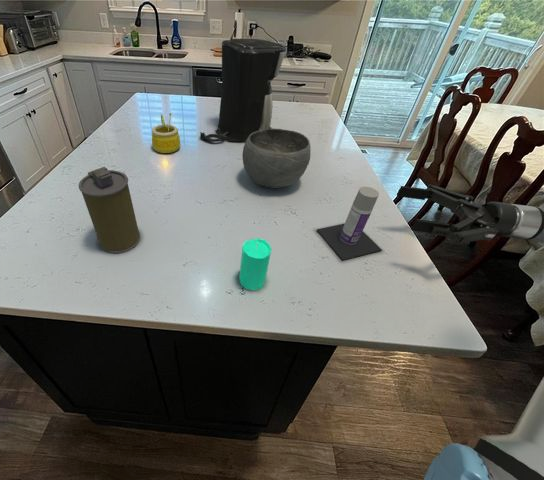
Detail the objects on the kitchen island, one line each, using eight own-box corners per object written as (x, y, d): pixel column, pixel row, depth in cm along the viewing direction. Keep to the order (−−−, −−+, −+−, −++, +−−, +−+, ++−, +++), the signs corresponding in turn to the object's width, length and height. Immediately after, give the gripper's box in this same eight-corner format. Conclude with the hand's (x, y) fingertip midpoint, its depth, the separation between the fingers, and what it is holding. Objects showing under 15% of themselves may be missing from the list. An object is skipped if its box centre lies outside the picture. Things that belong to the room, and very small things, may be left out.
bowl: (313, 180, 102) (325, 138, 91) (281, 207, 89) (291, 162, 79) (263, 160, 111) (268, 120, 101) (228, 182, 99) (230, 139, 89)
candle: (265, 271, 70) (272, 234, 62) (264, 291, 66) (272, 254, 58) (240, 268, 71) (244, 231, 62) (238, 288, 66) (241, 250, 58)
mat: (381, 251, 77) (381, 249, 76) (342, 261, 74) (342, 259, 73) (352, 223, 85) (353, 221, 84) (316, 230, 82) (317, 229, 81)
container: (356, 235, 80) (378, 188, 70) (358, 246, 77) (380, 199, 67) (339, 231, 81) (357, 185, 71) (339, 243, 77) (359, 195, 67)
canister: (148, 240, 77) (134, 172, 63) (111, 259, 71) (87, 189, 58) (126, 220, 82) (110, 154, 69) (91, 237, 77) (65, 168, 63)
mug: (174, 157, 111) (171, 125, 102) (147, 152, 113) (143, 120, 105) (187, 143, 120) (185, 113, 111) (163, 139, 122) (159, 109, 114)
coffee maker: (281, 130, 133) (296, 41, 110) (240, 155, 113) (248, 54, 90) (240, 117, 142) (246, 33, 119) (196, 138, 123) (193, 43, 100)
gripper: (522, 271, 60) (412, 254, 63) (471, 202, 78) (388, 191, 81) (551, 245, 55) (430, 227, 58) (490, 177, 73) (400, 166, 76)
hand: (405, 206), depth 69 cm, fingers open, 13 cm apart
